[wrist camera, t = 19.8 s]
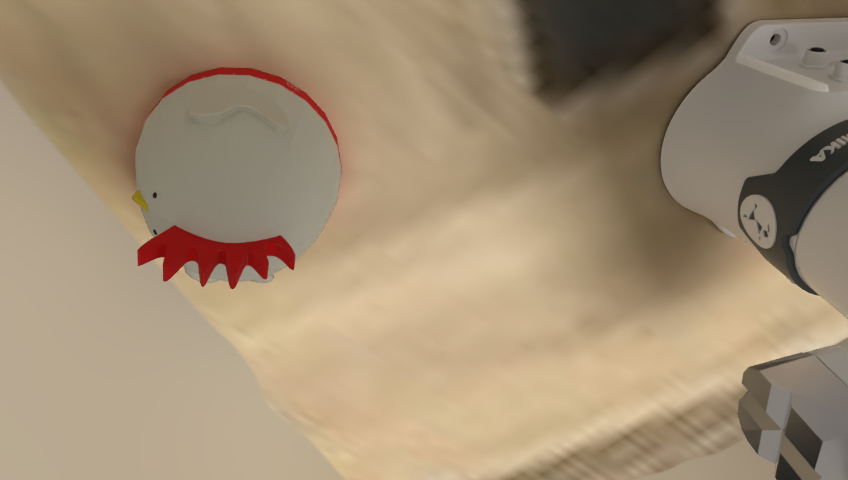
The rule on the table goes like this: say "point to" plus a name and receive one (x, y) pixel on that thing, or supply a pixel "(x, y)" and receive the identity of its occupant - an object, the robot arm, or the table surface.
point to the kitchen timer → (234, 176)
